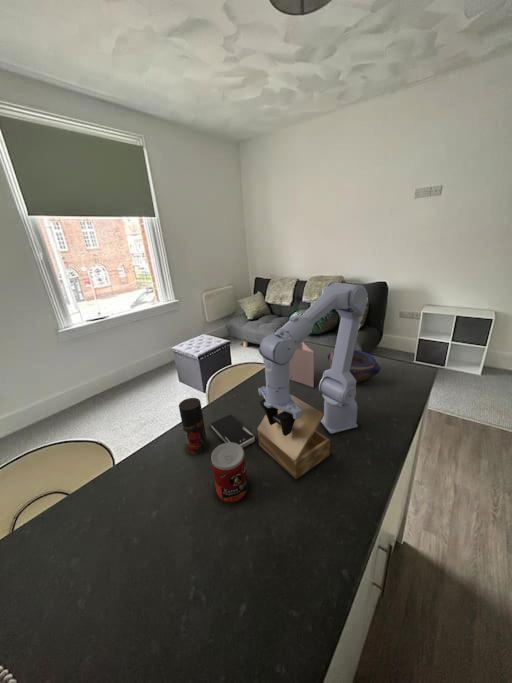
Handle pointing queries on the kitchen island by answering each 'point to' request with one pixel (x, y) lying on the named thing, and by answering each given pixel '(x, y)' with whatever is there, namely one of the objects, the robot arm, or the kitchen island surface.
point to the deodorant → (193, 425)
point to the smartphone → (232, 431)
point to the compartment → (308, 459)
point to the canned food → (229, 471)
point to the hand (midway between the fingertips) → (280, 428)
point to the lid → (293, 429)
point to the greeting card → (302, 366)
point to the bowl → (360, 365)
